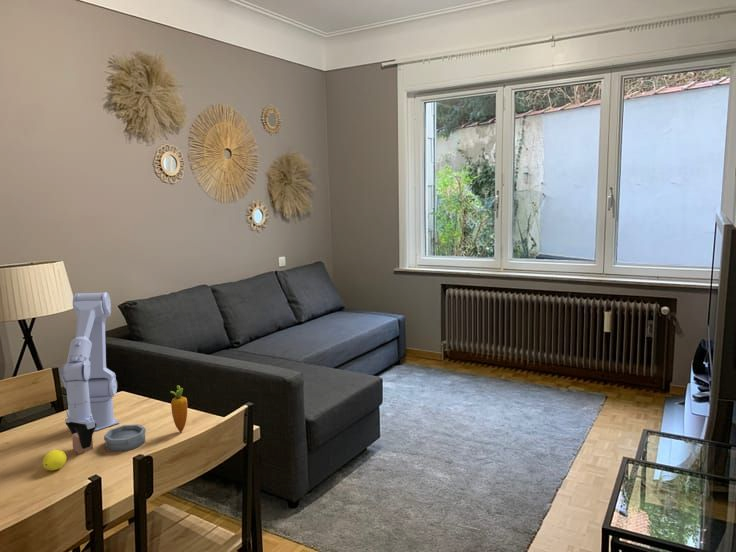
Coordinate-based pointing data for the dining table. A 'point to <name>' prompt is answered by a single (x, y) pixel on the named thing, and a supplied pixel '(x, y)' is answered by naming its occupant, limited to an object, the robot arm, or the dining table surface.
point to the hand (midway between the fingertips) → (82, 445)
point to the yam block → (79, 444)
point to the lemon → (54, 460)
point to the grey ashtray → (125, 438)
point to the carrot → (179, 409)
